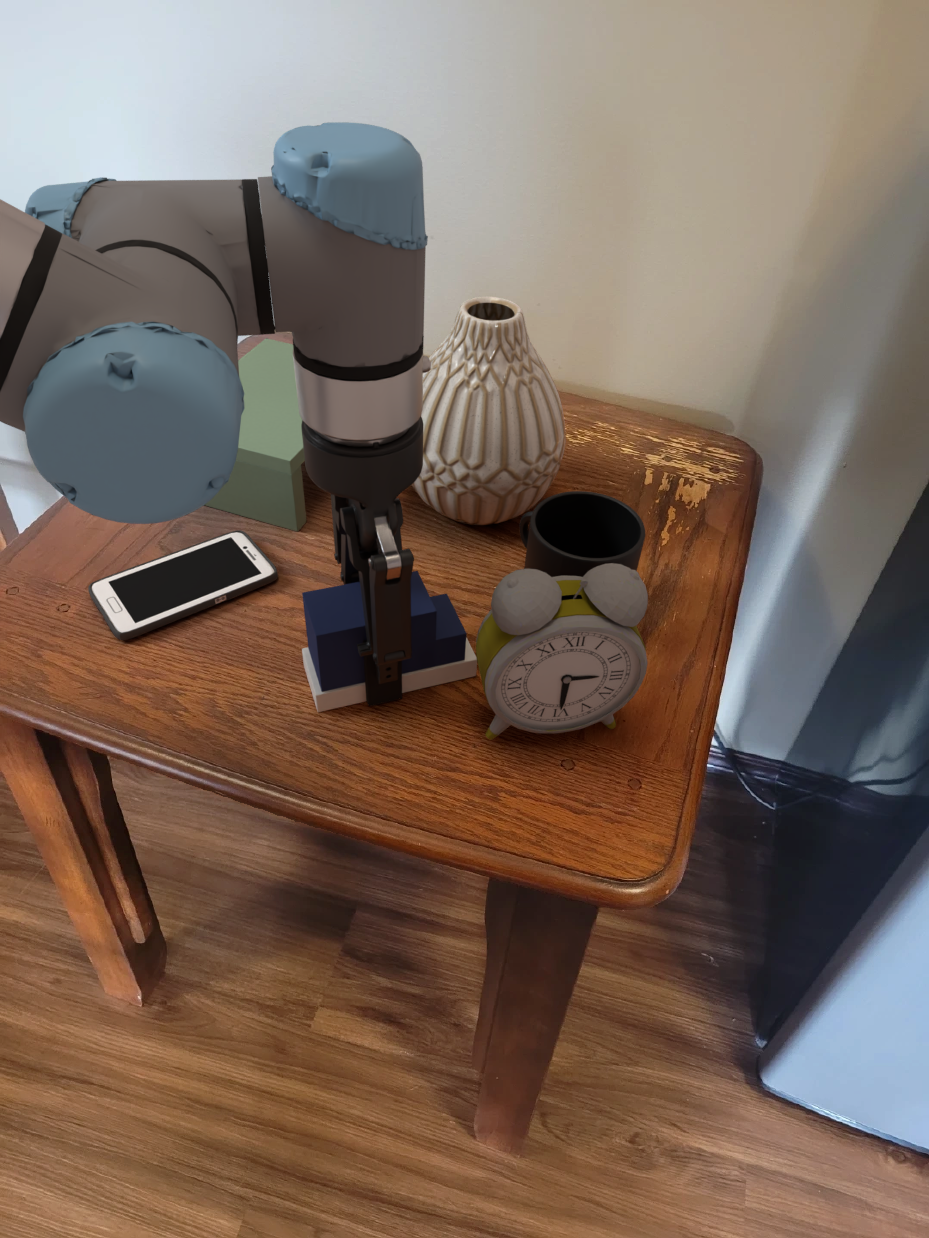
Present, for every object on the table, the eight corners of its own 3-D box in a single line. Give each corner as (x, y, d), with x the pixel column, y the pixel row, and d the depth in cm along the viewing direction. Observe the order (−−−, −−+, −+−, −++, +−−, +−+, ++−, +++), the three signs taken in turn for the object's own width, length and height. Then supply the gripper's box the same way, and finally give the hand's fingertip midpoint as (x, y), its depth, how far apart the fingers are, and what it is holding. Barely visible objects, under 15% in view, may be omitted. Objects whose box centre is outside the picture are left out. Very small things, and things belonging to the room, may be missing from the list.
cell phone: (86, 592, 73) (83, 584, 73) (243, 535, 80) (242, 527, 79) (119, 645, 69) (116, 637, 68) (282, 580, 76) (281, 571, 75)
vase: (419, 447, 93) (422, 262, 79) (563, 469, 91) (592, 284, 77) (380, 534, 81) (375, 336, 68) (544, 561, 80) (574, 364, 66)
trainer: (317, 712, 65) (309, 639, 60) (303, 665, 69) (294, 591, 63) (476, 676, 69) (482, 603, 63) (455, 632, 72) (459, 560, 67)
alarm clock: (479, 756, 63) (494, 608, 53) (465, 687, 68) (476, 539, 57) (629, 742, 65) (673, 596, 54) (606, 676, 69) (641, 530, 59)
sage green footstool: (172, 496, 84) (155, 425, 79) (273, 403, 98) (265, 338, 92) (297, 532, 81) (290, 461, 76) (384, 431, 95) (383, 364, 89)
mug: (551, 544, 82) (563, 464, 75) (647, 610, 75) (669, 529, 69) (478, 584, 77) (485, 503, 71) (575, 659, 71) (592, 577, 64)
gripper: (470, 489, 47) (455, 747, 63) (381, 342, 59) (388, 590, 75) (337, 512, 45) (356, 773, 61) (273, 355, 57) (304, 607, 73)
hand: (374, 671), depth 68 cm, fingers closed on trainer, 5 cm apart
